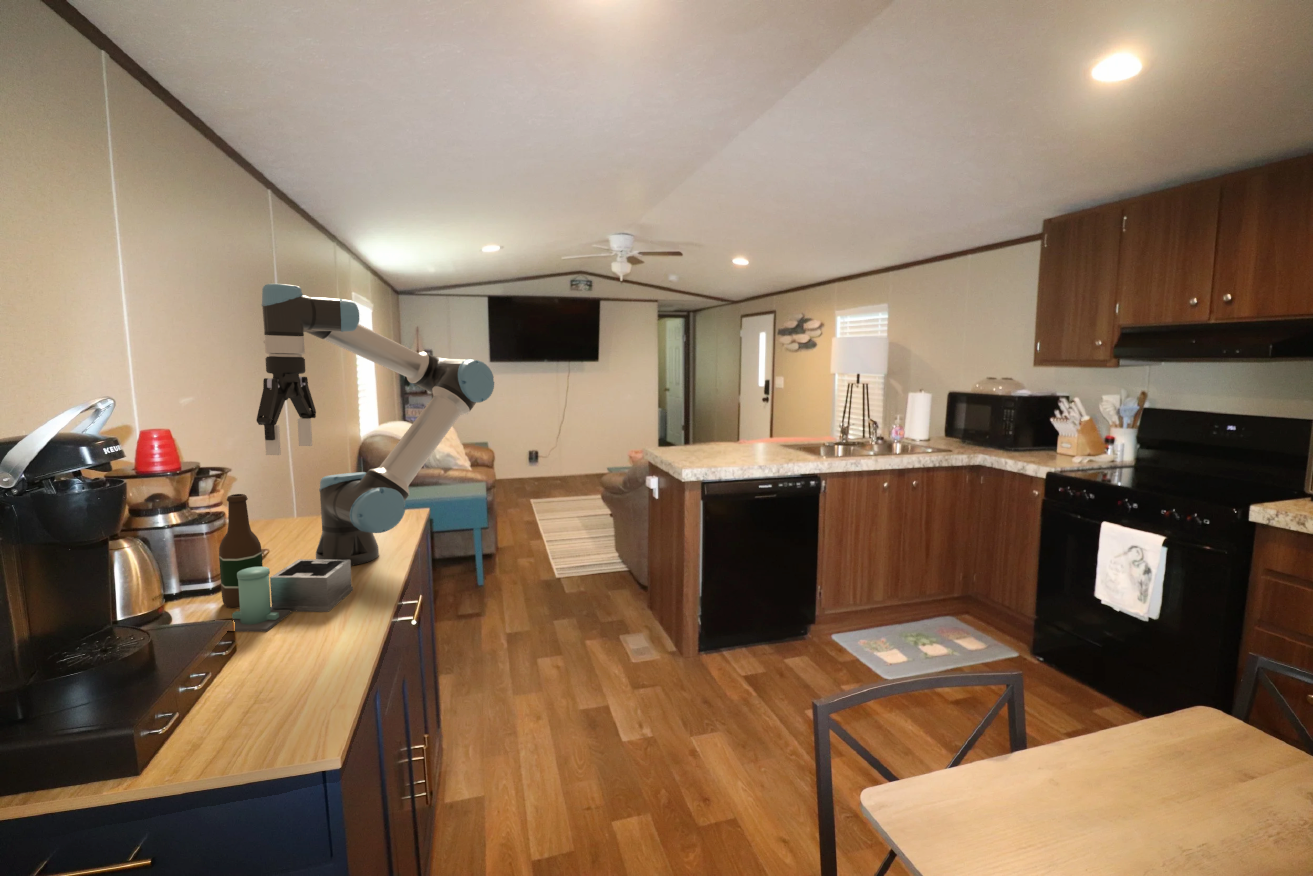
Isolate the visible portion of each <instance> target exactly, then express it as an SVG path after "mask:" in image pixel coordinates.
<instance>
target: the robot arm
mask: <svg viewBox="0 0 1313 876" xmlns="http://www.w3.org/2000/svg"><path fill="white" fill-rule="evenodd" d="M261 291H262V292H261V307H262V309H261V310H262V319H263V331H264V332H263V335H264V340H263V344H264V348H265V349H264V351H265V354H267V355H268V356H265V371H266V373H267V374H272V377H271V378H269V377H267V378H265V377H264V378H263V384H262V385H263V387H262V393H261V398H260V402H259V406H258V411H257V415H256V423H258V426H264V428H263V429H264V442H265V443H264V445H265V446H264V447H265V455H266V456H281V455H282V453H281V452H282V450H281V449H282V448H281V432H280V431H281V430H280V424H277V423H278V421H279V418H280V415H281V413H282V410H283V407H284V406H285V402H286V401H288V399H290V401H291V403H292V406H293V407H294V409H295V410H296V413H297V414H298V416H299V417H298V418H297V433H298V446H299V447H312V446H313V435H312V434H313V433H312V419H316V417H317V415H316V414H317V410H316V407H315V404H314V400H313V397H312V393H311V389H310V387H309V381H308V376H300V375H303V374H306V358H305V357H304V356H303V355H305V354H306V352H305V337H304V336H305V333H307V334H310V335H311V336H314V337H316V338H318V339H322V340H324V341H326V342H328V343H330V344H332V345H334V346H337V347H339V348H341V349H344V350H346V351H348V352H350V353H352V354H355V355H357V356H360V357H361V358H363V359H366V360H368V361H371V362H372V363H375V364H377V365H379V366H382V367H383V368H386V369H388V370H390V371H393V372H395V373H397V374H399V375H401V376H403V377H406V380H407V381H408V382H409V383H410V384H412V385H415V386H417V387H418V388H421V389H424V390H425V391H426V392H429V393H431V394H432V395H433V396H432V398H431V399H430V401H429V402H428V403H427V404H426V406H425V407H424V408H423V409H422V411H421V412H420V413H419V414H418V416H417V417H416V419H415V420H414V421H413V423H412V424H411V425H410V426H409V428H408V429H407V430H406V432H405V433H404V434H403V435H402V437H401V439H400V440H399V441H398V442H397V444H396V445H395V446H394V447H393V448H392V450H391V451H390V452H389V454H388V455H387V456H386V458H385V459H384V460H383V461H382V463H381V464H380V466H378V467H376V468H370V469H369V470H368V471H367V472H365V471H360V472H347V473H346V472H345V473H338V474H336V473H335V474H331V475H325V476H324V477H321V479H320V481H319V495H320V497H319V498H320V499H319V500H320V516H321V517H320V518H321V535H320V538H319V541H318V544H317V548H316V551H315V559H319V560H351V566H352V567H353V566H357V565H361V564H365V563H369V562H371V561H373V560H375V559H377V558H378V557H379V555H380V552H379V549H380V548H379V545H378V542H377V540H376V537H375V534H381V533H386V532H388V531H390V530H392V529H394V528H395V527H396V526H398V524H399V523H400V522H401V521H402V519H403V518H404V516H405V514H406V513H405V512H406V508H405V507H406V500H407V499H408V497H409V496H410V490H409V487H410V484H411V483H412V481H413V480H414V479H415V478H416V476H417V475H418V473H419V472H420V471H421V469H422V468H423V467H424V465H425V464H426V462H428V460H429V458H430V457H431V455H432V454H433V453H434V451H435V450H436V449H437V448H438V446H439V445H440V443H441V442H442V440H443V439H444V438H445V437H446V435H447V434H448V433H449V431H450V429H452V427H453V426H454V424H455V423H456V422H457V420H458V419H459V417H461V416H462V415H463V416H464V415H468V414H470V412H471V410H473V408H474V407H475V405H476V404H477V403H483V402H485V401H487V400H488V399H489V398H490V397H491V396H492V394H493V392H494V389H495V380H494V377H495V376H494V374H493V371H492V370H491V368H490V367H489V365H488V364H486V363H485V362H484V361H482V360H478V359H474V358H466V359H464V358H463V359H462V358H444V357H438V356H435V355H433V354H432V355H431V354H429V353H427V352H426V351H421V352H417V351H416V350H413V349H411V348H409V347H407V346H405V345H403V344H401V343H399V342H398V341H397V342H396V340H393V339H391V338H388V337H386V336H384V335H382V334H380V333H379V332H376V331H374V330H372V329H370V328H368V327H366V326H364V325H362V324H359V323H360V310H359V308H358V305H357V304H356V303H355V302H354V301H353V300H350V299H343V298H333V297H319V296H318V297H317V296H308V295H303V292H302V288H301V287H300V286H299V285H295V284H286V283H266V284H264V286H263V287H262V290H261Z"/></svg>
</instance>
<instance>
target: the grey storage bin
mask: <svg viewBox="0 0 1313 876" xmlns="http://www.w3.org/2000/svg"><path fill="white" fill-rule="evenodd" d="M269 586H270V603H271V605H270V606H271V610H291V613H295V612H297V613H299V612H302V613H303V612H306V613H307V612H308V613H309V612H312V613H313V612H315V613H318V612H321V613H324V612H326V613H327V612H331V610H333V609H334V608H335V607H336V606H337V605H338V604H339V603H340V602H342V600H344V599H345V598H346V597H347V596H348V595H349V594H350V593H352V592H354V587H353V585H352V567H351V560H319V559H316V558H315V559H314V558H313V559H303V558H302V559H301V558H300V559H297V560H296V561H294V562H292V563H290V564H289V565H288V566H286V567H285V568H283V569H280V571H278V572H276V573H275V574H273V575H271V576H269Z"/></svg>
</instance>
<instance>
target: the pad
mask: <svg viewBox="0 0 1313 876" xmlns="http://www.w3.org/2000/svg"><path fill="white" fill-rule="evenodd" d="M271 612H277V613H279V618H277V619H276V620H267V621H264V622H261V623H257V624H242V623H241V619H234V622H235V632H237V633H239V632H240V633H241V632H248V633H249V632H256V633H257V632H268V631H269V630H271V629H272V628H273V627H275V626H276V625H277V624H279V622H281V621H283V620H284V619H285V618H286V617H287V616H289V615H290V614H291V613H292V612H291V610H271Z"/></svg>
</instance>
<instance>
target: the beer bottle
mask: <svg viewBox="0 0 1313 876" xmlns="http://www.w3.org/2000/svg"><path fill="white" fill-rule="evenodd" d="M247 500H248V496H247V495H246V494H245V493H235V494H231V495H228V496H227V497H226V501H227V502H228V505H227V506H228V509H227V510H228V511H227V513H228V515H227V516H228V517H227V518H228V519H227V521H228V523H227V532H226V534H225V535H224V536H223V538H222V539H221V541H220V545H219V548H218V549H219V550H218V559H219V560H218V561H219V562H218V563H219V572H220V587H221V589H220V591H221V599H222V604H223V605H224V606H225V607H226V608H228V609H230V608H231V609H232V608H233V609H236V608H237V609H240V602H239V586H238V579H237V573H238V572H239V571H241V570H243V569H246V568H251V567H264V565H263V551H262V550H263V549H262V545H261V542H260V539H259V537H258V536H257V535H256V534H255V533H254V532H253V531H252V529H251V525H250V519H249V512H248V505H247Z"/></svg>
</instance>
